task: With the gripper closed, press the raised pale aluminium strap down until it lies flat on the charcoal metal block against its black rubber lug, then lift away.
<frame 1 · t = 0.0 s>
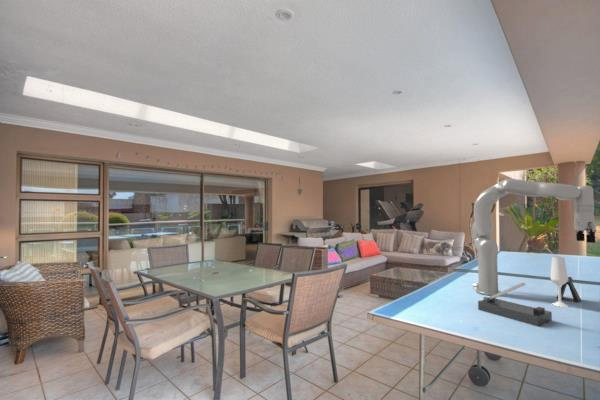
hand: (585, 241, 154), 31 cm above the table, fingers open, 9 cm apart
strap: (505, 291, 135), point 10 cm above the table, hinge at 35.0°
phone stand: (568, 300, 156), on the table
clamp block: (512, 315, 132), on the table
champagne flute: (560, 305, 146), on the table
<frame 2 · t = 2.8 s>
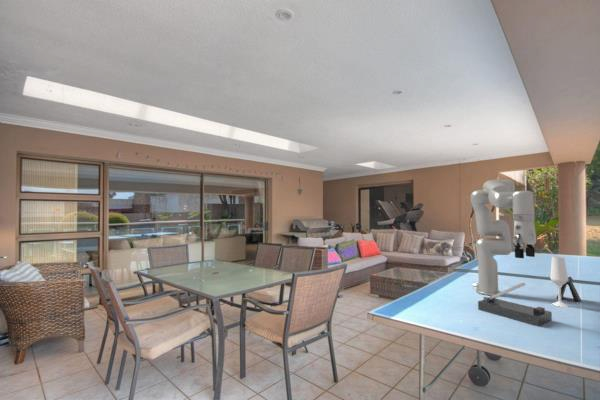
hand: (524, 257, 129), 27 cm above the table, fingers open, 9 cm apart
nothing on the table moved.
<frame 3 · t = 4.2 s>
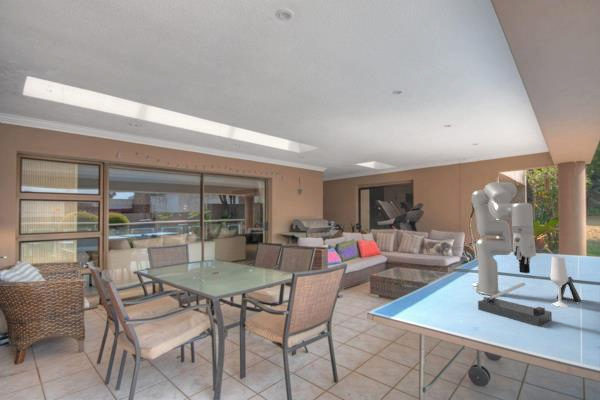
hand: (524, 272, 128), 20 cm above the table, fingers closed
nothing on the table moved.
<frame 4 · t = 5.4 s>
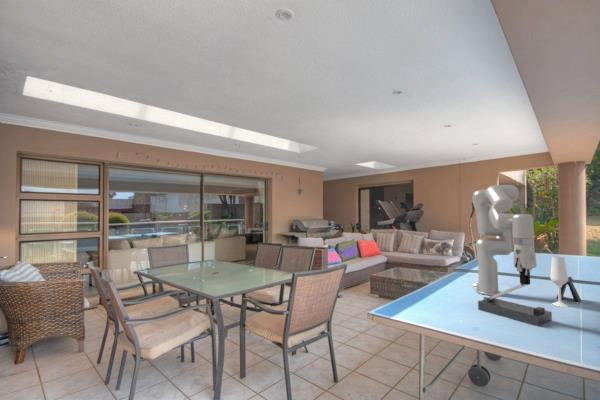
hand: (525, 284, 128), 15 cm above the table, fingers closed
strap: (505, 292, 135), point 10 cm above the table, hinge at 33.9°, touching gripper
everything else where it was.
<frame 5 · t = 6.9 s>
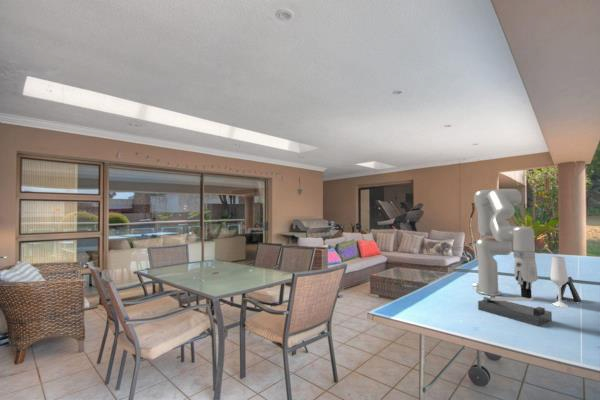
hand: (526, 297, 127), 9 cm above the table, fingers closed
strap: (509, 299, 133), point 7 cm above the table, hinge at 14.0°
everything else where it was.
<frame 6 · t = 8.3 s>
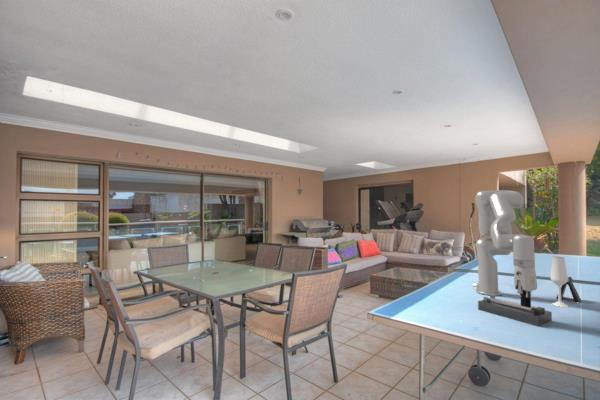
hand: (525, 305, 127), 6 cm above the table, fingers closed
strap: (510, 303, 133), point 5 cm above the table, hinge at 1.7°, touching gripper
everything else where it was.
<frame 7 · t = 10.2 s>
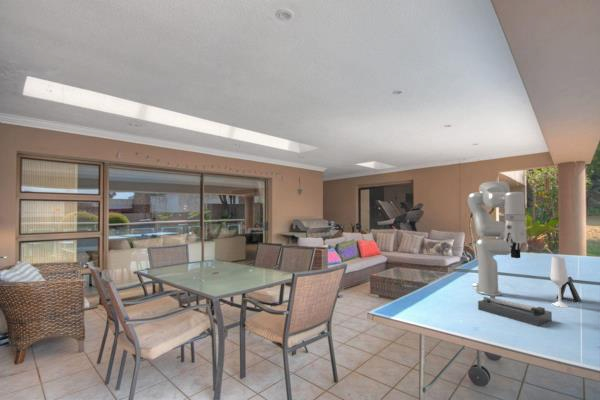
hand: (515, 257, 136), 25 cm above the table, fingers closed
strap: (510, 303, 133), point 5 cm above the table, hinge at 1.5°
everything else where it was.
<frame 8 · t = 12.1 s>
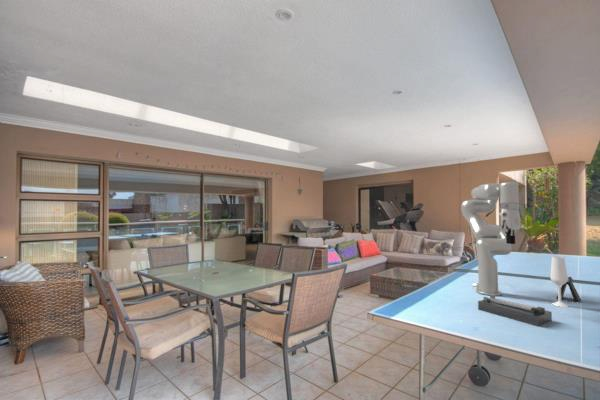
hand: (510, 243, 145), 31 cm above the table, fingers closed
nothing on the table moved.
at the end: strap at +2° (first picture: +35°); the gripper is holding nothing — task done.
